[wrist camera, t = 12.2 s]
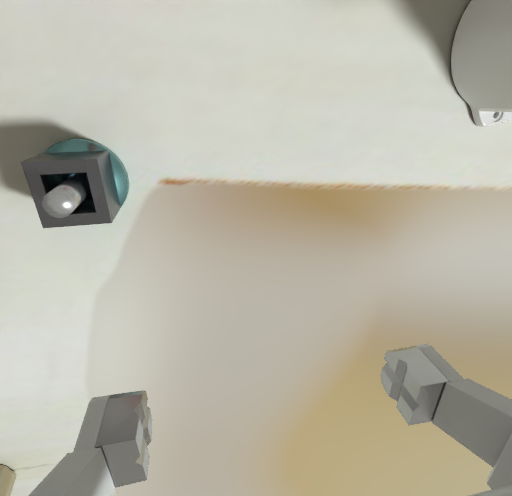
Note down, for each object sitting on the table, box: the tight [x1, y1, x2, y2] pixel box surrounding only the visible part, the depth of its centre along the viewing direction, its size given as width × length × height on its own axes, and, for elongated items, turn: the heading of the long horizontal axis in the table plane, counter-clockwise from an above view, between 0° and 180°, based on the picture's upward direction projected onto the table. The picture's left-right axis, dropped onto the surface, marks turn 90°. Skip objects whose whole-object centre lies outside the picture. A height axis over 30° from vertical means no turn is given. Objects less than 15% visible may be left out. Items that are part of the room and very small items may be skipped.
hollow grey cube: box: [21, 150, 121, 228], centre depth 32 cm, size 6×6×5 cm
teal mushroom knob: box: [42, 139, 129, 218], centre depth 32 cm, size 9×9×9 cm
